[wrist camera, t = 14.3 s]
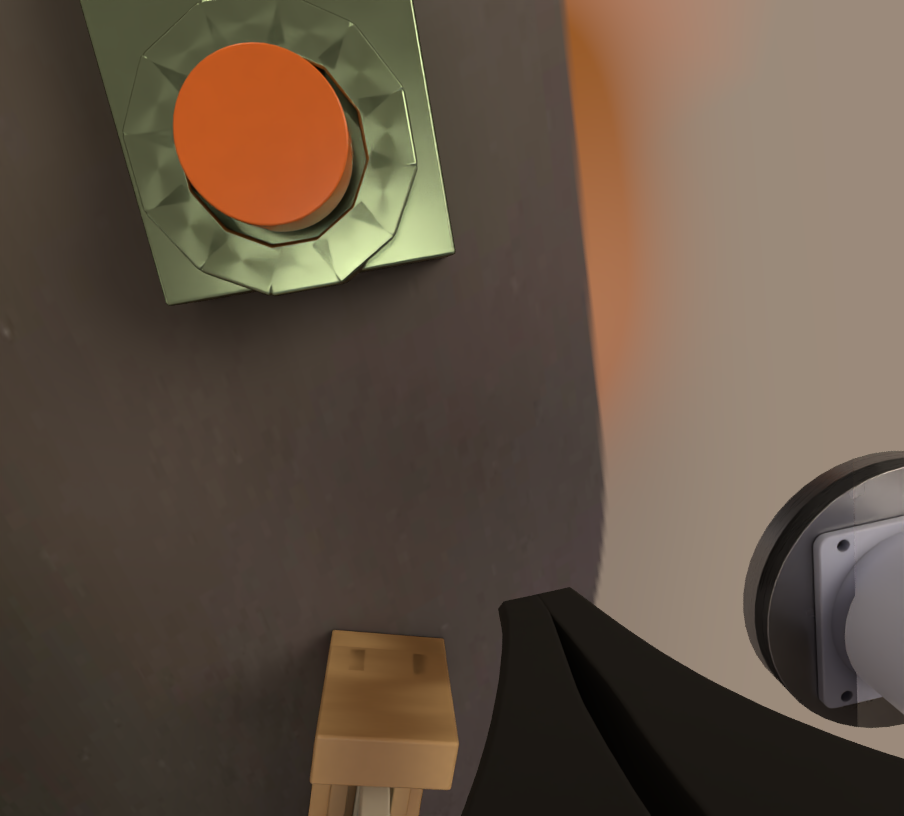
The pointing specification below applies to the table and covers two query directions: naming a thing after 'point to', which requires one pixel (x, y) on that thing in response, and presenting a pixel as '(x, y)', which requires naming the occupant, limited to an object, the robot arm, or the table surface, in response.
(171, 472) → the table surface
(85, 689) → the table surface
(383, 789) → the window pane
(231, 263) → the control block
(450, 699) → the wooden rack
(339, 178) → the button
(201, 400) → the table surface
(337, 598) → the table surface
